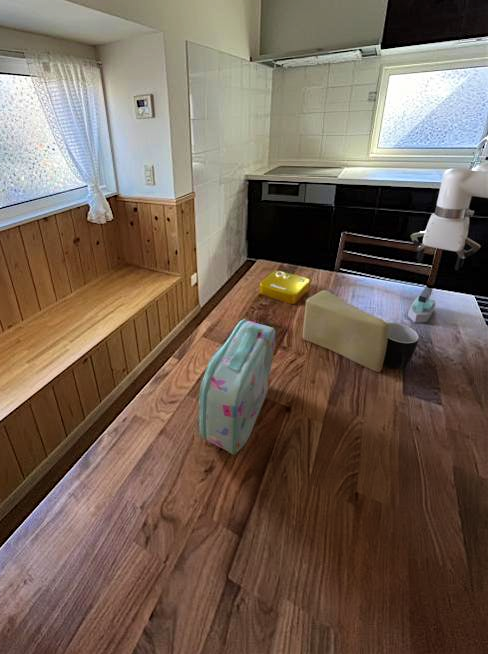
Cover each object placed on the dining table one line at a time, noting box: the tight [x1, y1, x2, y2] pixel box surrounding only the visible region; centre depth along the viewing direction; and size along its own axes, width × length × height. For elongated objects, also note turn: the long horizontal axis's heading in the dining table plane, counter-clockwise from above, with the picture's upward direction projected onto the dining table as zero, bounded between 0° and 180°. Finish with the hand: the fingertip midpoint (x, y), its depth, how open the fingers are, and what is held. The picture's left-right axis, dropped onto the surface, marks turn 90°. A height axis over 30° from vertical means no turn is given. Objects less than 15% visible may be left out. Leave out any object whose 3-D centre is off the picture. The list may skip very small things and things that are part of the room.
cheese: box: [302, 289, 388, 373], centre depth 96 cm, size 22×10×15 cm, turn 35°
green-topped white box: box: [407, 287, 436, 324], centre depth 111 cm, size 11×6×8 cm, turn 134°
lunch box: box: [198, 318, 276, 455], centre depth 78 cm, size 27×10×21 cm, turn 152°
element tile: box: [259, 270, 310, 305], centre depth 130 cm, size 15×15×5 cm
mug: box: [383, 322, 420, 371], centre depth 90 cm, size 12×9×10 cm
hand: (437, 264), depth 105 cm, fingers open, 9 cm apart
